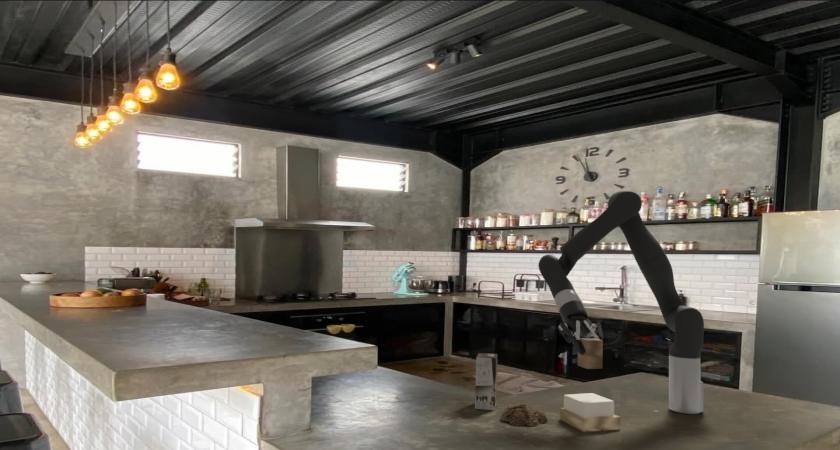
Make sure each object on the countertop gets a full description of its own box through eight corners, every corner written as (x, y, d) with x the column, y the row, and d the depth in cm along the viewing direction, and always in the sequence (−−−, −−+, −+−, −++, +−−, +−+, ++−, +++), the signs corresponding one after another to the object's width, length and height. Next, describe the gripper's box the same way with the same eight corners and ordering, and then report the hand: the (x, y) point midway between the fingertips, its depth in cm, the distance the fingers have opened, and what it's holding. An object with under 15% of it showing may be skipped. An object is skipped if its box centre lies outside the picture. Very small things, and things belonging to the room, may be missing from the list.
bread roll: (517, 413, 174) (518, 396, 175) (552, 422, 166) (552, 404, 166) (491, 420, 165) (492, 403, 166) (527, 430, 157) (527, 412, 157)
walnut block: (592, 365, 168) (592, 337, 168) (602, 368, 163) (602, 340, 163) (577, 365, 166) (577, 337, 167) (587, 368, 161) (587, 340, 162)
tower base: (595, 419, 171) (595, 405, 171) (620, 431, 159) (620, 416, 160) (560, 421, 167) (560, 407, 168) (583, 433, 156) (583, 419, 156)
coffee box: (495, 410, 175) (496, 357, 176) (474, 409, 176) (475, 356, 177) (497, 403, 184) (498, 353, 185) (477, 402, 185) (478, 352, 186)
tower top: (592, 406, 170) (592, 393, 171) (614, 415, 161) (614, 401, 161) (563, 408, 167) (563, 394, 167) (584, 417, 158) (584, 403, 158)
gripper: (554, 299, 172) (575, 345, 159) (595, 299, 176) (619, 345, 163) (545, 315, 176) (564, 361, 164) (585, 315, 180) (607, 360, 168)
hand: (591, 352), depth 164 cm, fingers closed on walnut block, 5 cm apart
